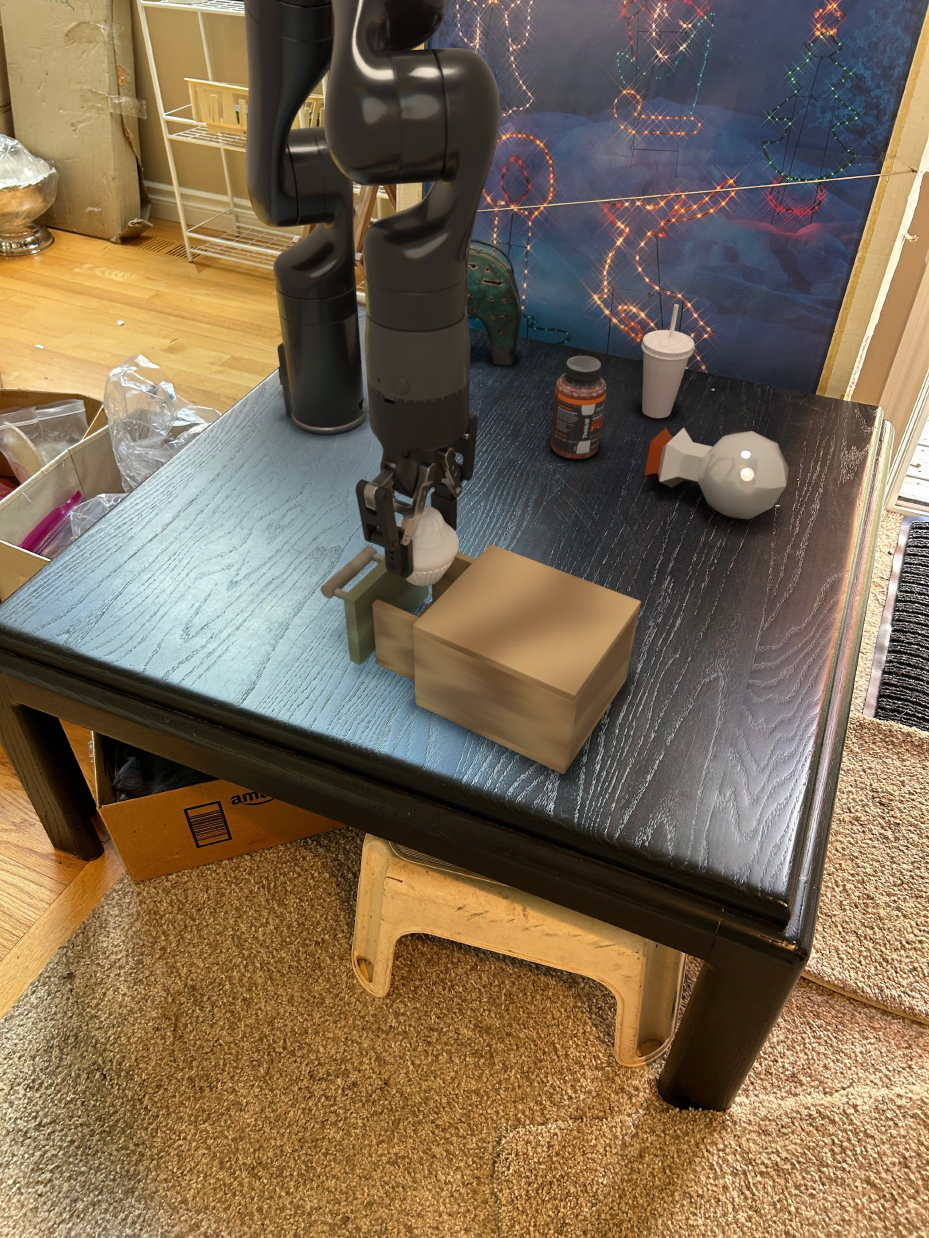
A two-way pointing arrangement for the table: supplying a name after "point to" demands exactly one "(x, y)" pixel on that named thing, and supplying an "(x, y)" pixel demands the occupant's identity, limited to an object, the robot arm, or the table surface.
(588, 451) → the supplement bottle
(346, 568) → the drawer
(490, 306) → the ceramic cat
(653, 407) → the smoothie
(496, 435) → the table surface
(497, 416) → the table surface
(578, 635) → the cabinet
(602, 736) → the table surface
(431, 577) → the muffin
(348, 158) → the robot arm
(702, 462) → the potion bottle
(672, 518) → the table surface
